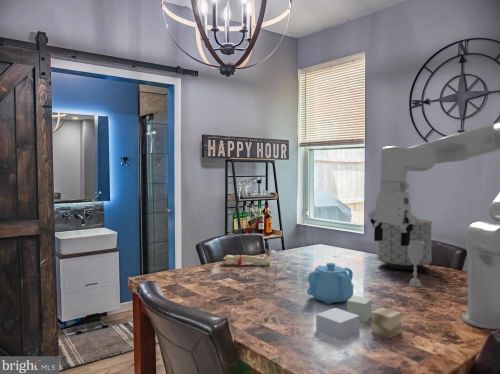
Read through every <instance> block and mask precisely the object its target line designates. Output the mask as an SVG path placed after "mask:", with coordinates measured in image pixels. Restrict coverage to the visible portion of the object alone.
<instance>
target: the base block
mask: <svg viewBox="0 0 500 374" xmlns="http://www.w3.org/2000/svg"><path fill="white" fill-rule="evenodd" d="M315 330H316V332H317V331H318V332H320V333H322V334H324V335H327V336H330V337H332V338H335V339H338V340H343V339H346V338H348V337H350V336H352V335H354V334H356V333H359V332H360V321H359V315H356V314H353V313H350V312H347V311H346V310H344V309H340V308H337V307H334V308H331V309H328V310H325V311H322V312H319V313H317V314H315Z"/></svg>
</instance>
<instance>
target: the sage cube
mask: <svg viewBox="0 0 500 374" xmlns="http://www.w3.org/2000/svg"><path fill="white" fill-rule="evenodd" d="M372 303H373V299H372V298H369V297H368V298H367V297H364V296H363V297H362V296H357V295H352V297H351V298H350V299H349V300H347V302H346V307H347V308H346V310H347V312H350V313H353V314H356V315H359V322H360V323H361V322H362V323H367V322H368V321H369V320H370V319H372V312H373V310H372V309H373V307H372V306H373V305H372Z"/></svg>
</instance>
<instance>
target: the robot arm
mask: <svg viewBox="0 0 500 374" xmlns="http://www.w3.org/2000/svg"><path fill="white" fill-rule="evenodd" d="M498 151H500V122H493V123H490V124H487V125H486V124H485V125H483V126H480V127H479V126H478V127H476V128H473V129H469V130H465V131H462V132H458V133H457V132H456V133H454V134H451V135H447V136H445V137H441V138H439V139H435V140H431V141H427V142H424V143H423V142H422V143H419V144H418V145H413V146H410V147H405V146H397V145H396V146H393V145H391V146H384V147H383V148H382V149H381V153H380V178H379V179H380V181H379V182H380V183H379V190H378V192H377V196H376V202H375V210H372V211H371V212H369V213H368V214H367V215H368V217H369V220H370V223H371V225H372V228H373V229H374V230H373V231H374V234H373V237H374V238H373V240H374V241H375V242H377V241H382V240H383V228H381V227H382V225H383V224H391V225H399V226H400V228H401V229H402V231H403V232H401V246H408V245H409V242H410V232H412V230H413V229H414V228H415V227H416V224H417V222H418V220H419V219H418V218H419V217H417V216H415V215H414V214H412V206H411V197H410V194H409V192H407V189H409V188H410V184H409V183H407V176H408V175H407V173H408V172H426V171H429V170H431V169H433V168H434V167H435V166H436V165H438V164H443V163H455V162H460V161H461V162H462V161H466V160H470V159H474V158H477V157H480V156H483V155H487V154H491V153H495V152H498ZM488 214H489V216H490V218H491V219H492V220H493V221H495V222H492V221H486V220H479V221H475V222H472V223H471V224H470V225H468V227H467V228H466V230H465V233H464V242H465V247H466V254H467V308H466V309H467V311H466V312H464V313H461V320H462V321H464V322H465V324H468V325H471V326H474V327H477V328H481V329H487V330H500V192H499V193H498V194H497V195H496V197H495V198H494V199H493V201H492V202H491V203H490V205H489V207H488Z"/></svg>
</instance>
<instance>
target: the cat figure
mask: <svg viewBox="0 0 500 374" xmlns="http://www.w3.org/2000/svg"><path fill="white" fill-rule="evenodd" d="M265 254H266V255H265V256H264V257H261V256H260V257H259V256H257V255H256V256H254V255H246V254H244V253H242V254H241V255H240V254H237V255H232V254H227V255H226V256H224V257H223V258H222V259H221V263H222V264H223V265H227V266H233V264H234V263H237V264H238V265H239V266H240V267H241V266H242V262H243V263H244V262H245V263H252V264H253V263H254V264H257V265H262V266H265V265H267V267H270V264H271V259H270V258H269V257H270V256H271V253H270V252H269V251H268V250H265ZM267 258H268V259H267Z"/></svg>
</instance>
